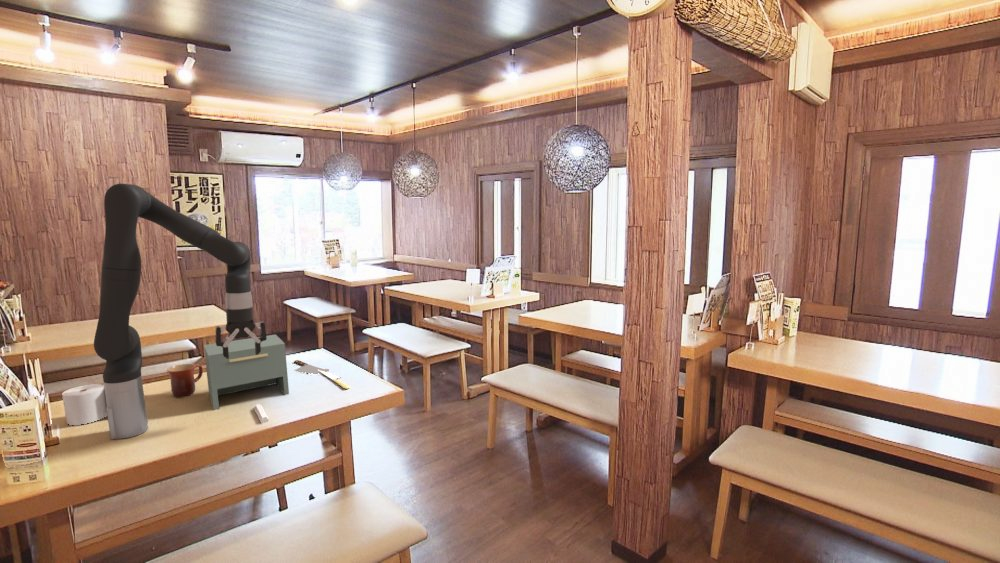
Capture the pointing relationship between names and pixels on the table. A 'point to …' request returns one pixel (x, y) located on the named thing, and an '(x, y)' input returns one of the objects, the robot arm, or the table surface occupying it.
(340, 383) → the knife
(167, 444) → the table surface
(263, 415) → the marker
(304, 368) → the kitchen cleaver
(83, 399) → the toilet tissue
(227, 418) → the table surface
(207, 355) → the cabinet
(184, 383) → the mug
